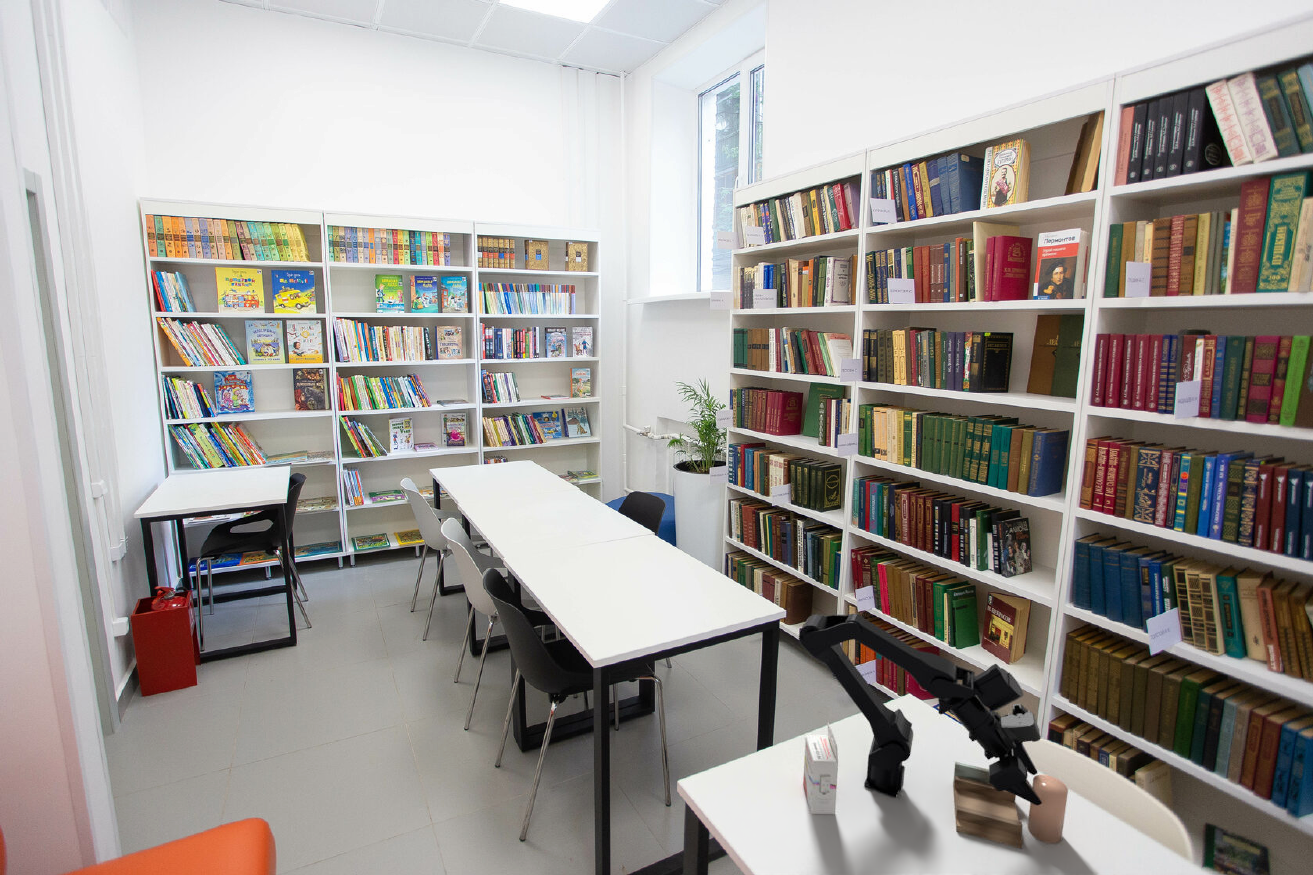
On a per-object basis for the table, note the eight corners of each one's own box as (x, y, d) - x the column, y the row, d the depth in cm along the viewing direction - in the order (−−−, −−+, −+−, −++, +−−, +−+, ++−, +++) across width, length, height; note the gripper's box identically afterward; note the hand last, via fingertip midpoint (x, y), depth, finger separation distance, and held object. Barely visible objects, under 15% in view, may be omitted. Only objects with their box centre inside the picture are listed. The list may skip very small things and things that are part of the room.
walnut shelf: (956, 830, 123) (958, 806, 122) (953, 783, 136) (955, 761, 135) (1021, 848, 119) (1025, 823, 118) (1012, 798, 132) (1015, 775, 131)
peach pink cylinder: (1026, 835, 122) (1032, 787, 121) (1028, 816, 127) (1033, 770, 125) (1061, 848, 119) (1068, 799, 118) (1061, 828, 124) (1068, 781, 123)
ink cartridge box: (801, 784, 135) (805, 719, 133) (825, 785, 135) (829, 720, 133) (810, 814, 127) (814, 746, 124) (835, 815, 127) (840, 747, 124)
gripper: (1016, 726, 114) (1083, 802, 111) (1011, 676, 131) (1069, 741, 128) (963, 754, 119) (1026, 828, 116) (965, 702, 135) (1020, 766, 132)
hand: (1037, 788), depth 123 cm, fingers open, 9 cm apart
